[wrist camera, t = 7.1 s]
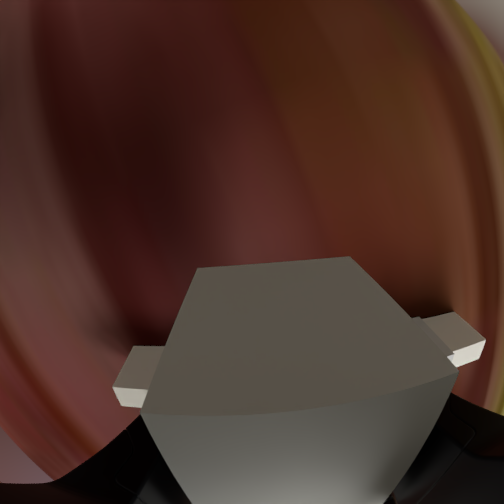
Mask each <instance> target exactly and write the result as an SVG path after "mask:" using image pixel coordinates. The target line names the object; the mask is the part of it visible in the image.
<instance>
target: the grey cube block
mask: <svg viewBox="0 0 504 504" xmlns="http://www.w3.org/2000/svg"><path fill="white" fill-rule="evenodd" d="M458 374H459V370H458V369H457V368H456V367H455V366H454V364H453V363H452V362H451V361H450V360H449V359H448V358H447V356H446V355H445V354H444V353H443V352H442V351H441V350H440V349H439V347H438V346H437V345H436V344H435V343H434V342H433V341H432V340H431V339H430V338H429V336H428V335H427V334H426V333H425V332H424V331H423V330H422V329H421V328H420V327H419V326H418V325H417V323H416V322H415V321H414V320H413V319H412V318H411V317H410V316H409V315H408V314H407V313H406V312H405V311H404V310H403V309H402V308H401V307H400V306H399V305H398V304H397V303H396V302H395V301H394V300H393V299H392V298H391V296H390V295H389V294H388V293H387V292H386V291H385V290H384V289H383V288H382V287H381V286H380V285H379V284H378V283H377V282H376V281H375V280H374V279H372V278H371V277H370V276H369V275H368V274H367V273H366V272H365V271H364V270H363V269H362V268H361V267H360V266H359V265H358V264H357V263H356V262H355V261H354V260H353V259H352V258H351V257H350V256H349V257H337V258H325V259H313V260H301V261H288V262H275V263H262V264H248V265H235V266H221V267H207V268H197V270H196V273H195V275H194V277H193V280H192V282H191V284H190V287H189V289H188V291H187V294H186V296H185V299H184V301H183V303H182V306H181V308H180V310H179V313H178V315H177V318H176V320H175V323H174V325H173V328H172V330H171V332H170V335H169V337H168V340H167V342H166V345H165V347H164V350H163V353H162V355H161V358H160V360H159V363H158V365H157V368H156V371H155V373H154V376H153V378H152V381H151V384H150V386H149V389H148V392H147V394H146V397H145V400H144V403H143V405H142V408H141V411H140V414H141V416H142V418H143V420H144V422H145V424H146V426H147V428H148V430H149V432H150V434H151V436H152V438H153V440H154V442H155V444H156V446H157V447H158V449H159V451H160V453H161V455H162V456H163V458H164V460H165V462H166V463H167V465H168V467H169V468H170V470H171V472H172V473H173V475H174V477H175V478H176V480H177V482H178V483H179V485H180V486H181V488H182V489H183V491H184V492H185V494H186V495H187V497H188V498H189V500H190V501H191V503H192V504H383V503H384V502H385V500H386V499H387V498H388V497H389V495H390V494H391V493H392V491H393V490H394V489H395V487H396V486H397V484H398V483H399V482H400V480H401V479H402V477H403V476H404V475H405V473H406V472H407V470H408V469H409V467H410V466H411V464H412V463H413V461H414V459H415V458H416V456H417V455H418V453H419V451H420V450H421V448H422V446H423V445H424V443H425V441H426V440H427V438H428V436H429V434H430V433H431V431H432V429H433V427H434V425H435V423H436V421H437V419H438V418H439V416H440V414H441V412H442V410H443V408H444V405H445V403H446V401H447V399H448V397H449V395H450V392H451V390H452V388H453V386H454V383H455V381H456V379H457V376H458Z"/></svg>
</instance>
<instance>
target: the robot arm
mask: <svg viewBox="0 0 504 504" xmlns="http://www.w3.org/2000/svg"><path fill="white" fill-rule="evenodd" d="M0 504H192V503H191V501H190V500H189V498H188V497H187V495H186V494H185V492H184V491H183V489H182V488H181V486H180V485H179V483H178V482H177V480H176V478H175V477H174V475H173V473H172V472H171V470H170V468H169V467H168V465H167V463H166V462H165V460H164V458H163V456H162V455H161V453H160V451H159V449H158V447H157V446H156V444H155V442H154V440H153V438H152V436H151V434H150V432H149V430H148V428H147V426H146V424H145V422H144V420H143V418H142V416H141V414H140V415H139V416H138V417H137V418H136V419H135V420H134V421H133V422H132V423H131V424H130V425H129V426H128V427H126V430H123V431H122V432H121V433H120V434H119V435H118V436H117V437H116V438H114V439H113V440H112V441H111V442H110V443H109V444H108V445H106V446H105V447H104V448H103V449H101V450H100V451H99V452H97V453H96V454H95V455H94V456H92V457H91V458H89V459H88V460H87V461H85V462H84V463H82V464H81V465H79V466H78V467H76V468H75V469H73V470H72V471H71V472H69V473H68V474H66V475H65V476H63V477H61V478H59V479H57V480H55V481H52V482H48V483H39V484H11V483H9V484H8V483H0ZM383 504H504V416H502V415H500V414H497V413H494V412H492V411H489V410H487V409H484V408H482V407H480V406H477V405H475V404H473V403H471V402H468V401H466V400H464V399H462V398H460V397H459V396H457V395H455V394H453V393H450V395H449V397H448V399H447V401H446V403H445V405H444V408H443V410H442V412H441V414H440V416H439V418H438V419H437V421H436V423H435V425H434V427H433V429H432V431H431V433H430V434H429V436H428V438H427V440H426V441H425V443H424V445H423V446H422V448H421V450H420V451H419V453H418V455H417V456H416V458H415V459H414V461H413V463H412V464H411V466H410V467H409V469H408V470H407V472H406V473H405V475H404V476H403V477H402V479H401V480H400V482H399V483H398V484H397V486H396V487H395V489H394V490H393V491H392V493H391V494H390V495H389V497H388V498H387V499H386V500H385V502H384V503H383Z"/></svg>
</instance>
